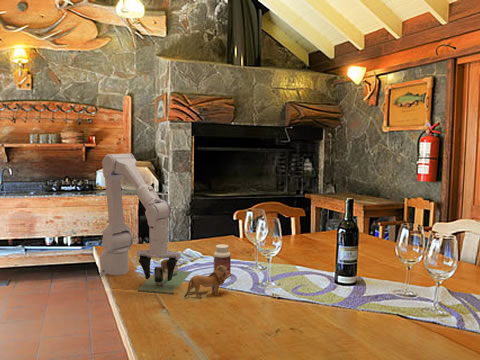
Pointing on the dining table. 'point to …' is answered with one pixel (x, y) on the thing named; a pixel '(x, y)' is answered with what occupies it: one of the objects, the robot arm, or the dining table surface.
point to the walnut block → (164, 264)
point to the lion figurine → (208, 281)
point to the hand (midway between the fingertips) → (158, 279)
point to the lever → (162, 275)
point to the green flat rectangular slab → (165, 284)
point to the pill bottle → (222, 257)
